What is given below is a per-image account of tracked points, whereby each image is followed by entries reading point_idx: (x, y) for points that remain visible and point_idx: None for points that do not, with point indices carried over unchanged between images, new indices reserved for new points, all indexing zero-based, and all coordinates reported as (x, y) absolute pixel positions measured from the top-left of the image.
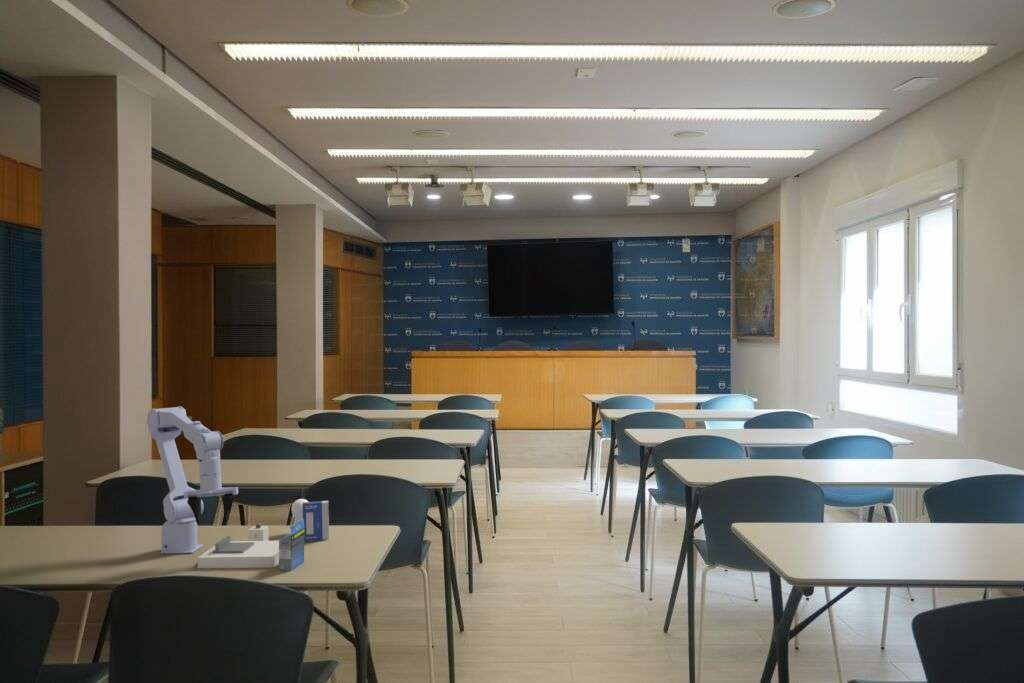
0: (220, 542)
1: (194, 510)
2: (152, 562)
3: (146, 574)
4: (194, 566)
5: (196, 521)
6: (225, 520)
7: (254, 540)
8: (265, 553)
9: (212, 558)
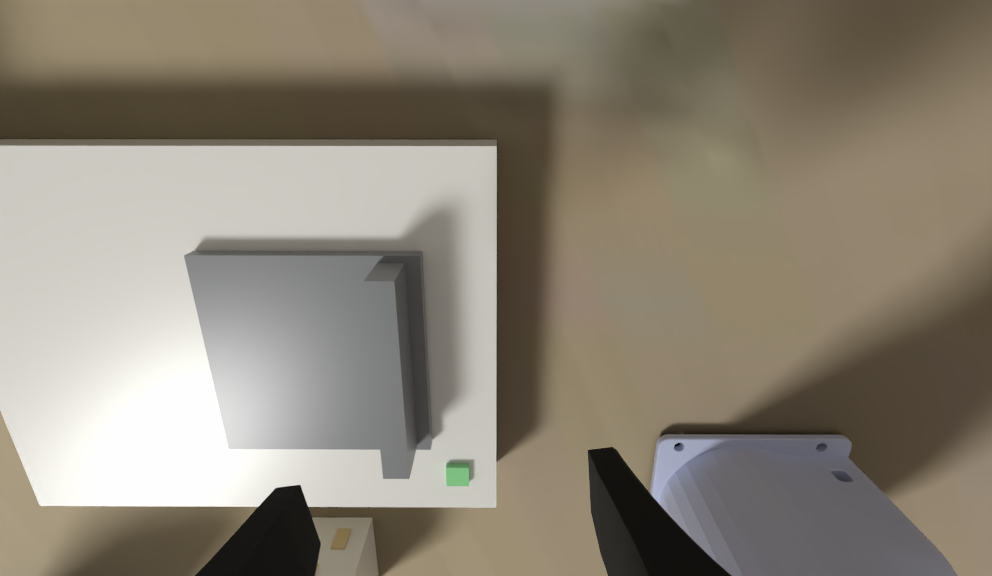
0: (367, 316)
1: (688, 572)
2: (851, 283)
3: (822, 8)
4: (539, 186)
5: (622, 460)
6: (283, 490)
7: (325, 552)
8: (11, 231)
9: (378, 145)
